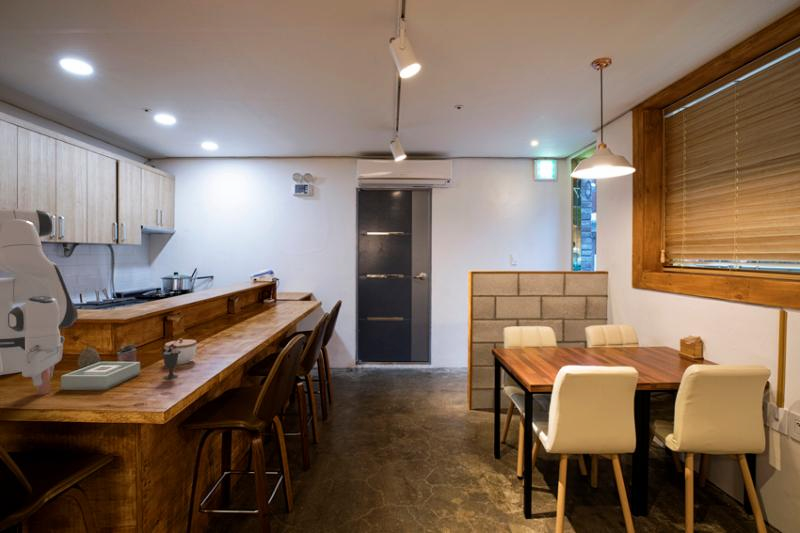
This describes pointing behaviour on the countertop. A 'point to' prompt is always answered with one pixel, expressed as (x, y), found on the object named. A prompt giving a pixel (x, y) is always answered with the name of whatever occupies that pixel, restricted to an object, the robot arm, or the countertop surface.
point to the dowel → (44, 383)
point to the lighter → (127, 353)
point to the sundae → (170, 359)
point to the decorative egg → (88, 358)
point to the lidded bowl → (184, 349)
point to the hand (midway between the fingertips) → (43, 381)
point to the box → (100, 376)
